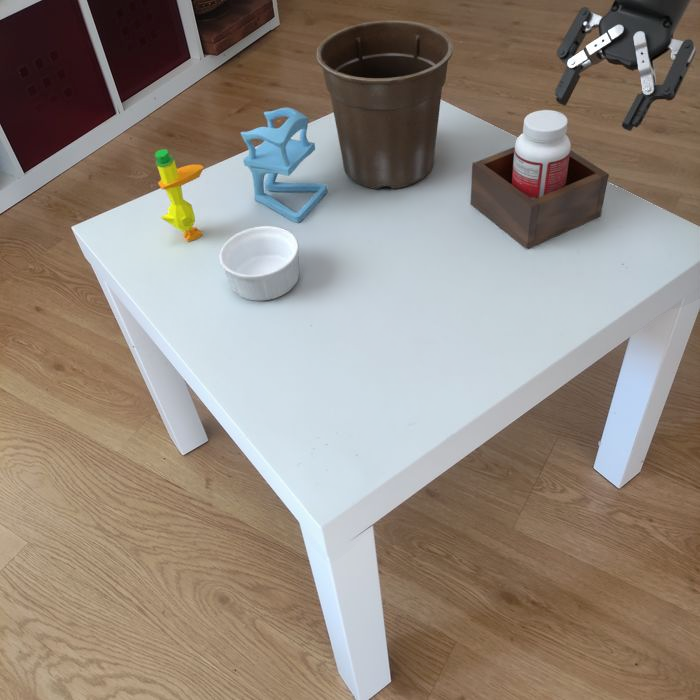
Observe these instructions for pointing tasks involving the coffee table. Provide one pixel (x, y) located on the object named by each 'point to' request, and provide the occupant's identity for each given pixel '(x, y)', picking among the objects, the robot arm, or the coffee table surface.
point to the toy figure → (178, 193)
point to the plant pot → (386, 98)
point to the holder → (544, 212)
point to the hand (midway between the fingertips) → (592, 115)
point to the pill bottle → (541, 154)
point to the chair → (281, 161)
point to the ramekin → (261, 262)
